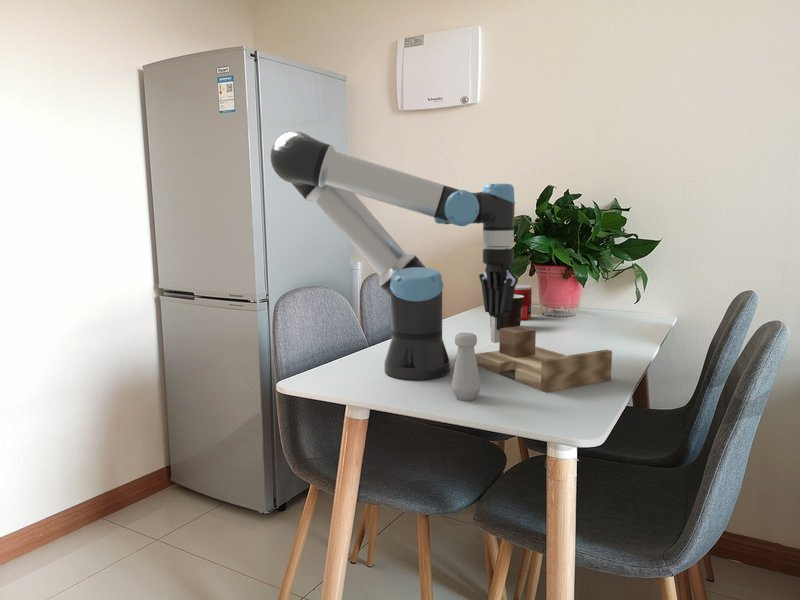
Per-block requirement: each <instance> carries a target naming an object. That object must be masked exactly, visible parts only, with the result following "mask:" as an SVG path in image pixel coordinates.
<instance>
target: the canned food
mask: <svg viewBox="0 0 800 600" xmlns="http://www.w3.org/2000/svg"><path fill="white" fill-rule="evenodd" d="M532 289H533V288H532V286H531V285H528V284H527V285H525V284H516V286H515V291H514V294H516V295H522V296H524V300H523V308H522V315H521V321H529V320H530V319H531V317H532V292H533V291H532ZM528 319H529V320H528Z"/></svg>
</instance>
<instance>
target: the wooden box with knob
mask: <svg viewBox="0 0 800 600" xmlns="http://www.w3.org/2000/svg"><path fill="white" fill-rule="evenodd" d="M475 356H476V362H477V367H480V368H482V369H485V370H488V371H491V372H493V373H496V374H498V375H501V376H504V377H506V378H509V379H511V380H514V381H516V382H519V383H521V384H523V385H526V386H529V387H531V388H533V389H536V390H539V391H541V392H543V393H550V392H555V391H561V390H565V389H566V390H567V389H571V388H576V387H582V386H587V385H592V384H598V383H599V384H600V383H603V382H609V381H612V365H613V363H612V360H613V350H610V349H603V350H602V349H601V350H596V351H589V352H588V351H587V352H583V353H576V354H570V355H566V354H562V353H559V352H555V351H554V350H553V351H552V350H550V349H546V348H543V347H539V346H536V345H535V355H532V356H525V357H518V358H513V357H510V356H507V355H504V354H502V353H499V350H492V351H486V352H485V351H484V352H478V353H475Z"/></svg>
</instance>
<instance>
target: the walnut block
mask: <svg viewBox="0 0 800 600" xmlns="http://www.w3.org/2000/svg"><path fill="white" fill-rule="evenodd" d="M536 331H537V330H536V329H534V328H529V327H526V326H525V327H524V326H521V325H520V326H515V327H507V328H500V342H499V347H498V348H499V349H498V351H499V353H502V354H504V355H507V356H510V357H513V358H518V357H525V356H532V355H535V346H536V337H537V336H536Z"/></svg>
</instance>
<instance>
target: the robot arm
mask: <svg viewBox="0 0 800 600" xmlns="http://www.w3.org/2000/svg"><path fill="white" fill-rule="evenodd" d="M270 163H271V166H272V169H273V170H274V172H275V174H276V175H277V176H278V177H279V178H280V179H281V180H283V181H284V182H287V183H291V184H292V186H293V187H294V188H295V189H296V191H297V192H298V193H299V194H300V195H301V196H302V197H303V198H304V200H305V201H307V202H314V203H316V204H317V206H319V208H320V209H321V210H322V211H323V212H324V213H325V215H326V216H327V217H328V218H329V219H330V220H331V222H332V223H333V224H334V225H335V226H336V227H337V228H338V229H339V230H340V232H341V233H342V234H343V236H345V238H346V239H347V240H348V241H349V242H350V243H351V245H352V246H353V247H354V248H355V249H356V250H357V252H359V254H360V256H361V257H362V258H364V259H365V261H366V262H367V263H368V264H369V265H370V266H371V268H373V270H374V272H375V273H376V274H377V275H378V276H379V286H380V287H381V288H382V290H383V291H384V292H385V293H386V295H387V296H388V297H389V298H390V302H391V303H390V309H391V310H390V311H391V313H390V314H391V318H390V319H391V322H390V323H391V338H390V339H391V340H390V343H389V346H388V350H387V352H386V356H385V359H384V363H383V364H384V373H385V375H387V376H390V377H392V378H395V379H396V378H397V379H402V380H415V381H416V380H430V379H431V380H432V379H439V378H441V377H444V376H447V375H448V374H450V371H451V362H450V358H449V355H448V352H447V349H446V346H445V341H444V339H443V289H444V282H443V276H442V274H441V272H439V271H438V270H437V269H435V268H434V269H433V268H429V267H426V266H425V265H424V264H423V262H422V261H421V260H420V259H419V258H418V257H417V255H416V254H414V253H413V254H412V253H407V252H405V250H404V249H402V247H401V246H400V245H399V243H397V241H396V240H395V239H394V237H392V235H391V234H390V232H388V231H387V230H386V229H385V227H384V226H383V225H382V224H381V222H380V221H379V220H378V219H377V218H376V217H375V216H374V214H373V213H372V212H371V211H370V210H369V208H367V206H366V205H365V204H364V203H363V202H362V200H361V199H360V198H359V197H358V196H357V195H359V196H361V197H365V198H368V199H371V200H375V201H379V202H382V203H385V204H389V205H392V206H395V207H398V208H402V209H405V210H407V211H411V212H415V213H419V214H420V215H425V216H429V217H431V218H433V219H434V222H435V223H436V224H437V225H438V224H440V225H441V224H442V225H454V226H459V227H467V226H468V225H471V224H476V225H477V224H482V246H483V247H484V248H483V249H482V263H483V264H484V265H486V267H485V270H484V272H483V273H480V274H479V275H478V277H479V281H480V283H481V290H482V299H483V306H484V312H485V313H488V315H489V316H490V342H491V343H493V344H499V343H500V328H504V318H505V316H507V315H510V314H511V308H512V302H513V297H514V291H515V286H516V285H518V281H519V279H518V278H517V277H514V276H513V275H512V270H511V265H512V264H514V262H515V261H514V258H515V256H514V254H515V252H514V251H515V250H514V248H512V247H514V246H515V245H514V243H515V242H514V241H515V239H514V238H515V235H514V233H515V210H516V209H515V205H516V202H515V187H514V186H513V184H511V183H486V184H484V185H483V189H482V191H480V192H471V191H467V190H465V189H458V188H454V187H452V186H449V185H444V184H443V183H439V182H437V181H436V182H435V181H432V180H429V179H427V178H422V177H420V176H418V175H417V176H416V175H412V174H409V173H406V172H403V171H400V170H397V169H393V168H390V167H387V166H383V165H380V164H377V163H374V162H371V161H368V160H365V159H362V158H358V157H355V156H352V155H348V154H345V153H342V152H340V151H336V149H335V147H334V146H333V145H332V144H328V143H325V142H323V141H320V140H318V139H316V138H314V137H312V136H310V135H309V134H307V133H304V132H302V131H289V132H286V133H283V134H282V135H281V136H279V137H278V138H277V139H276V140H275V141H274V143H273V145H272V147H271V151H270Z"/></svg>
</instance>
